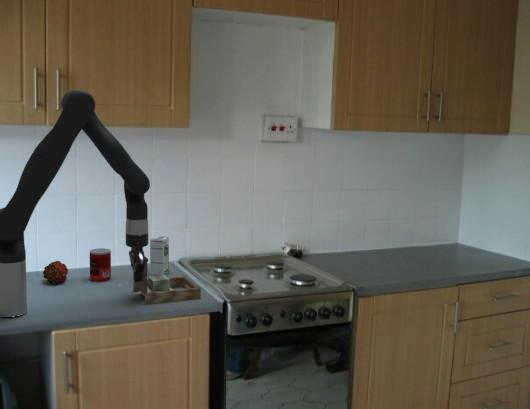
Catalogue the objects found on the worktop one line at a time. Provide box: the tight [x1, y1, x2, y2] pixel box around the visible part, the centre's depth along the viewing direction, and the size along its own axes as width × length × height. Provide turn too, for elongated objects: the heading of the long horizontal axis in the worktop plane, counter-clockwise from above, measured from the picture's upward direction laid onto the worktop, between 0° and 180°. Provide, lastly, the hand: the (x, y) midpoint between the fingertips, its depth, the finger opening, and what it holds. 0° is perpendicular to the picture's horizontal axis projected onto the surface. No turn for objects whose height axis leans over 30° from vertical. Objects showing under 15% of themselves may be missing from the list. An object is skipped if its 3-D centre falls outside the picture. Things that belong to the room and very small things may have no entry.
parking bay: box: [132, 276, 202, 305], centre depth 223 cm, size 19×16×4 cm
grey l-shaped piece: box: [138, 255, 173, 297], centre depth 221 cm, size 11×9×15 cm
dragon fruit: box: [42, 260, 69, 284], centre depth 236 cm, size 8×8×12 cm
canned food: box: [89, 247, 112, 283], centre depth 241 cm, size 8×8×11 cm
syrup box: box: [149, 235, 170, 276], centre depth 251 cm, size 6×6×14 cm
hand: (137, 281), depth 218 cm, fingers closed
